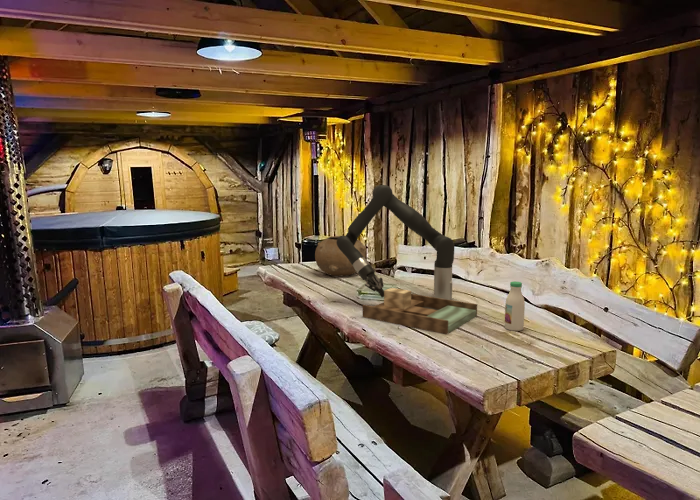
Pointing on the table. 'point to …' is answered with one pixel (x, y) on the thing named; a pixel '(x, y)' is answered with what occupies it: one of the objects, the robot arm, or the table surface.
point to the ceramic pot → (335, 257)
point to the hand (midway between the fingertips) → (384, 295)
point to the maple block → (397, 298)
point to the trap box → (425, 313)
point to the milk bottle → (514, 308)
